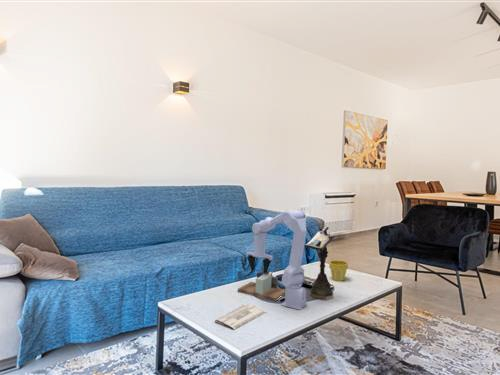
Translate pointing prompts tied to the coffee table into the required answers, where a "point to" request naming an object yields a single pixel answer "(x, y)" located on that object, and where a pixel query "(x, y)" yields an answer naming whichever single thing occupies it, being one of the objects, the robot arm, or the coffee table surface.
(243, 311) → the newspaper
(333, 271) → the plant pot
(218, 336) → the coffee table surface
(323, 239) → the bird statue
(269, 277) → the pale green rectangular block
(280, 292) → the shelf board
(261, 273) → the game card
